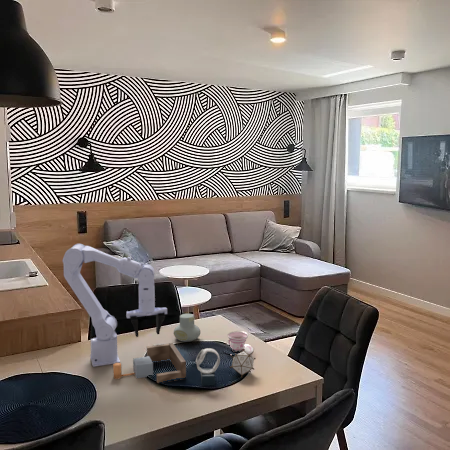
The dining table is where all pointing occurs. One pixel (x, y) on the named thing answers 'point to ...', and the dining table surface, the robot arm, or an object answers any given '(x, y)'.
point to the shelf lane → (163, 354)
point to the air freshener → (187, 329)
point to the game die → (242, 362)
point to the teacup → (239, 341)
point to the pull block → (136, 368)
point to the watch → (207, 374)
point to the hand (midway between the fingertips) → (147, 334)
